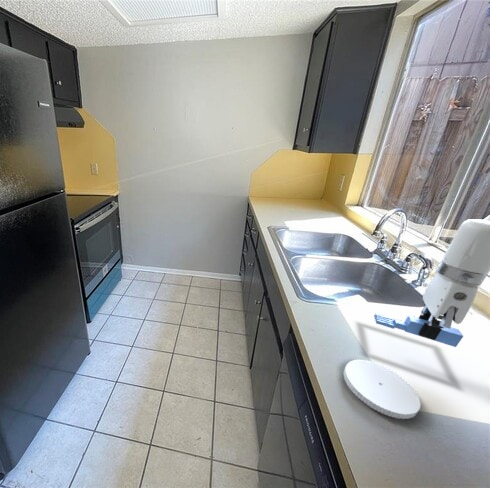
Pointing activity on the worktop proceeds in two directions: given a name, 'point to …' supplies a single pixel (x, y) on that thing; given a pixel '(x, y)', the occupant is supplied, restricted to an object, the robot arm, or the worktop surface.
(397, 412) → the plastic lid
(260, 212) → the worktop surface
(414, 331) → the blue brush
